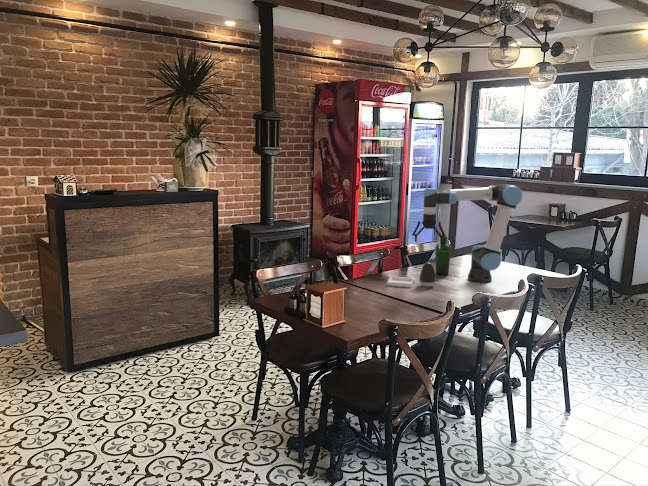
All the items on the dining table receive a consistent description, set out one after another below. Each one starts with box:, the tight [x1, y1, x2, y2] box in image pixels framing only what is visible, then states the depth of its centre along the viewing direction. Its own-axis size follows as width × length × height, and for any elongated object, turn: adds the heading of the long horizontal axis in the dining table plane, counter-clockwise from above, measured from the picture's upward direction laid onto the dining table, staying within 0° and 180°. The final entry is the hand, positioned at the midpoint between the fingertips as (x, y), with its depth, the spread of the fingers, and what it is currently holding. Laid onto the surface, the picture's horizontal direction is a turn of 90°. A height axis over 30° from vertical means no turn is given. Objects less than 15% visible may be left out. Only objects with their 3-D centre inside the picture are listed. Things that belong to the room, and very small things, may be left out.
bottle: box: [434, 233, 452, 277], centre depth 357 cm, size 11×11×28 cm
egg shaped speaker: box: [418, 261, 437, 288], centre depth 329 cm, size 10×10×15 cm
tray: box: [386, 275, 416, 289], centre depth 335 cm, size 15×15×2 cm
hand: (428, 247), depth 326 cm, fingers open, 13 cm apart
